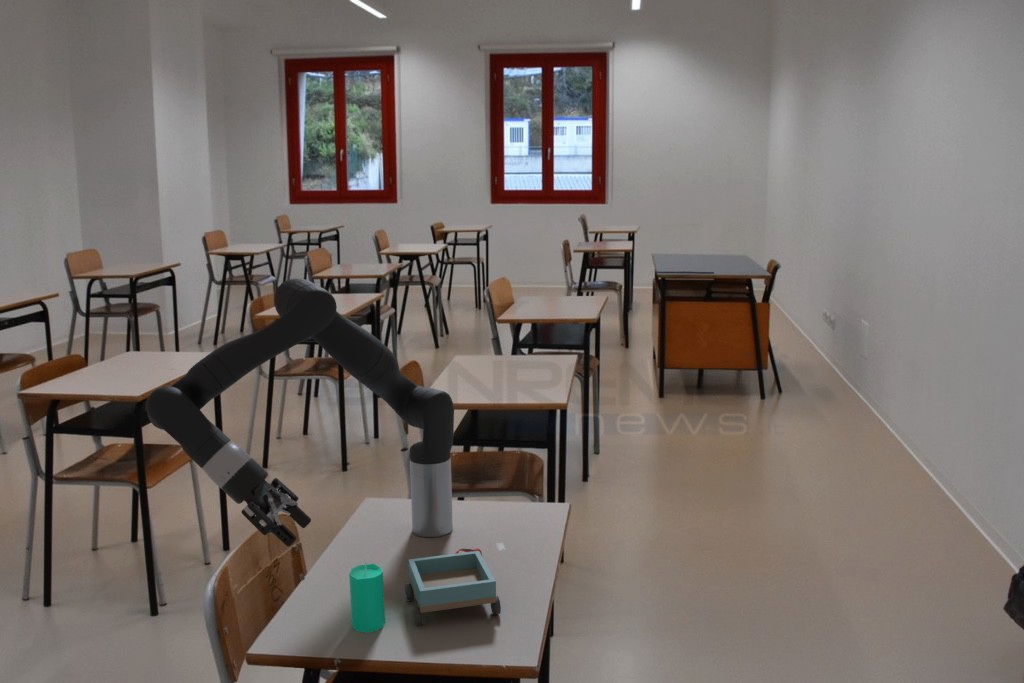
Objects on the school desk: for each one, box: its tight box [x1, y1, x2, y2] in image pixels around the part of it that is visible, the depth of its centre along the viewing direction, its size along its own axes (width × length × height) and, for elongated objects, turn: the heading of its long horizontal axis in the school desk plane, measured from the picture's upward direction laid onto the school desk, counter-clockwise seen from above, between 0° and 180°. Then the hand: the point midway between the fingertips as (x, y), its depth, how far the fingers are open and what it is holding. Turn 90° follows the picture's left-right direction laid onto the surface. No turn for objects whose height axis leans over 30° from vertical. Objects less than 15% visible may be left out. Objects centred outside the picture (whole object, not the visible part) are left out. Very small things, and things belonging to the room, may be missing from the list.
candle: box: [349, 563, 386, 633], centre depth 172 cm, size 6×6×12 cm
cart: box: [404, 551, 502, 626], centre depth 178 cm, size 14×16×7 cm
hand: (300, 533), depth 171 cm, fingers open, 8 cm apart
